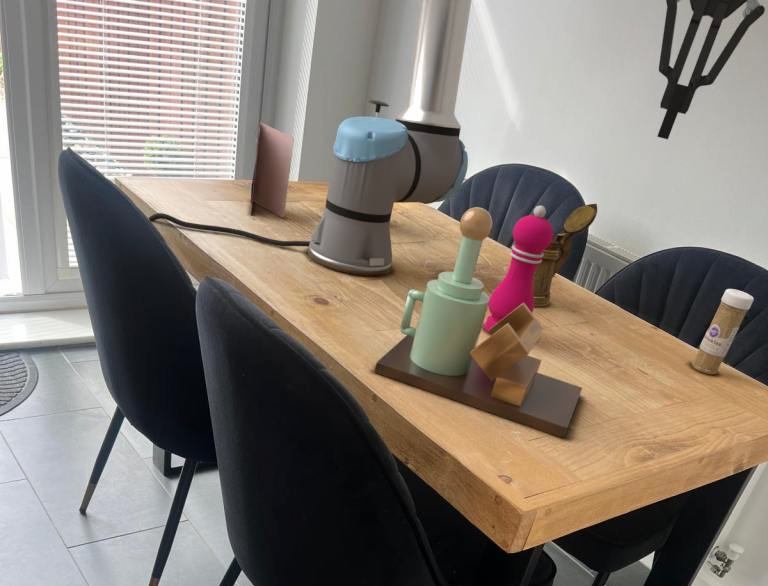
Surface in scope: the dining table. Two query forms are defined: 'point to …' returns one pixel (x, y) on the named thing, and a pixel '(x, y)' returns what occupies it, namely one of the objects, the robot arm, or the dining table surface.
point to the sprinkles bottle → (722, 331)
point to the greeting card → (272, 169)
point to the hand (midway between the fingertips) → (662, 137)
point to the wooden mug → (549, 264)
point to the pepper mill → (521, 266)
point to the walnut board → (487, 391)
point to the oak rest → (511, 355)
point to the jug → (451, 306)
